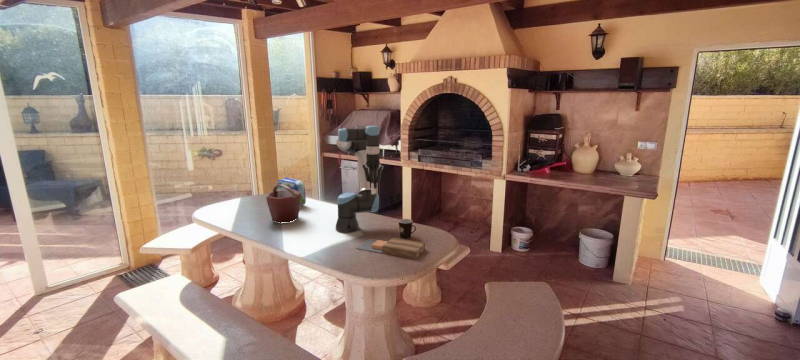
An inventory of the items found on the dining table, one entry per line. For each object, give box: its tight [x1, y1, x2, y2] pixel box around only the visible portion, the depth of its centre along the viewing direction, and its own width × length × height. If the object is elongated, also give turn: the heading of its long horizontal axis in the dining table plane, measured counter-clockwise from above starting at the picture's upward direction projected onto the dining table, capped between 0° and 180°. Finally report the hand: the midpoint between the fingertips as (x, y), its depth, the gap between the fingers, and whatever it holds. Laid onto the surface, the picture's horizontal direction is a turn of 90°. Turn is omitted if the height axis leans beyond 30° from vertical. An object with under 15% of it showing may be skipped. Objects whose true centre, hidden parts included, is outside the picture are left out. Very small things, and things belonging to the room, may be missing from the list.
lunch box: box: [276, 176, 307, 207], centre depth 301 cm, size 26×11×21 cm, turn 51°
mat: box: [355, 238, 383, 254], centre depth 222 cm, size 16×16×1 cm
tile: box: [372, 239, 388, 250], centre depth 220 cm, size 8×8×2 cm
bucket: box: [266, 184, 301, 224], centre depth 264 cm, size 24×22×25 cm
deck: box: [381, 237, 426, 260], centre depth 214 cm, size 14×20×4 cm
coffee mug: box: [398, 218, 417, 239], centre depth 234 cm, size 12×9×10 cm
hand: (373, 193), depth 222 cm, fingers closed
